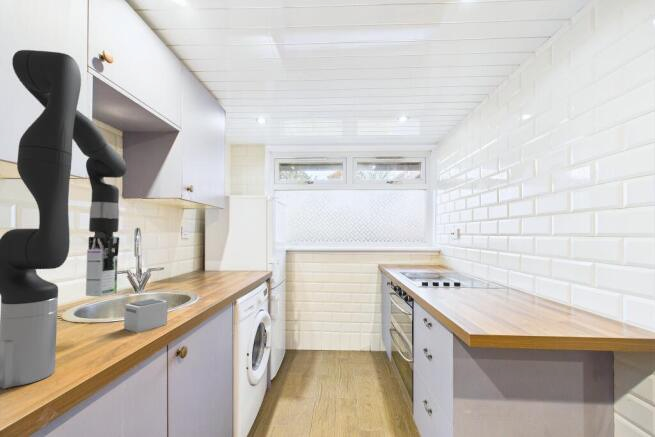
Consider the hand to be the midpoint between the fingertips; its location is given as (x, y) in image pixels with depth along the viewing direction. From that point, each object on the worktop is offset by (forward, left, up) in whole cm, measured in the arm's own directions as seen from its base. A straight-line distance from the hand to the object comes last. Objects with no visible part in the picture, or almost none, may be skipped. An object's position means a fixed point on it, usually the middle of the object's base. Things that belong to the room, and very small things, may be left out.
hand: (102, 269), depth 96 cm
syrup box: (0, 0, -8) cm, 8 cm away
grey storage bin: (+12, -4, -21) cm, 24 cm away
